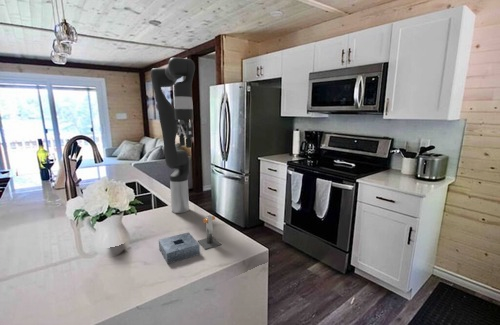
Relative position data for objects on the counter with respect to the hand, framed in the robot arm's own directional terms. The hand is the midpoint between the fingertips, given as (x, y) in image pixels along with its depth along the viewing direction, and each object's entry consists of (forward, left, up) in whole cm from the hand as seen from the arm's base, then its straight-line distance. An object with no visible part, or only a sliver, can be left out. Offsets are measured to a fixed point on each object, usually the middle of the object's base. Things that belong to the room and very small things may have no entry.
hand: (185, 146), depth 112 cm
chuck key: (+17, +3, -38) cm, 41 cm away
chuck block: (+17, -10, -38) cm, 43 cm away
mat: (+17, +3, -38) cm, 42 cm away
